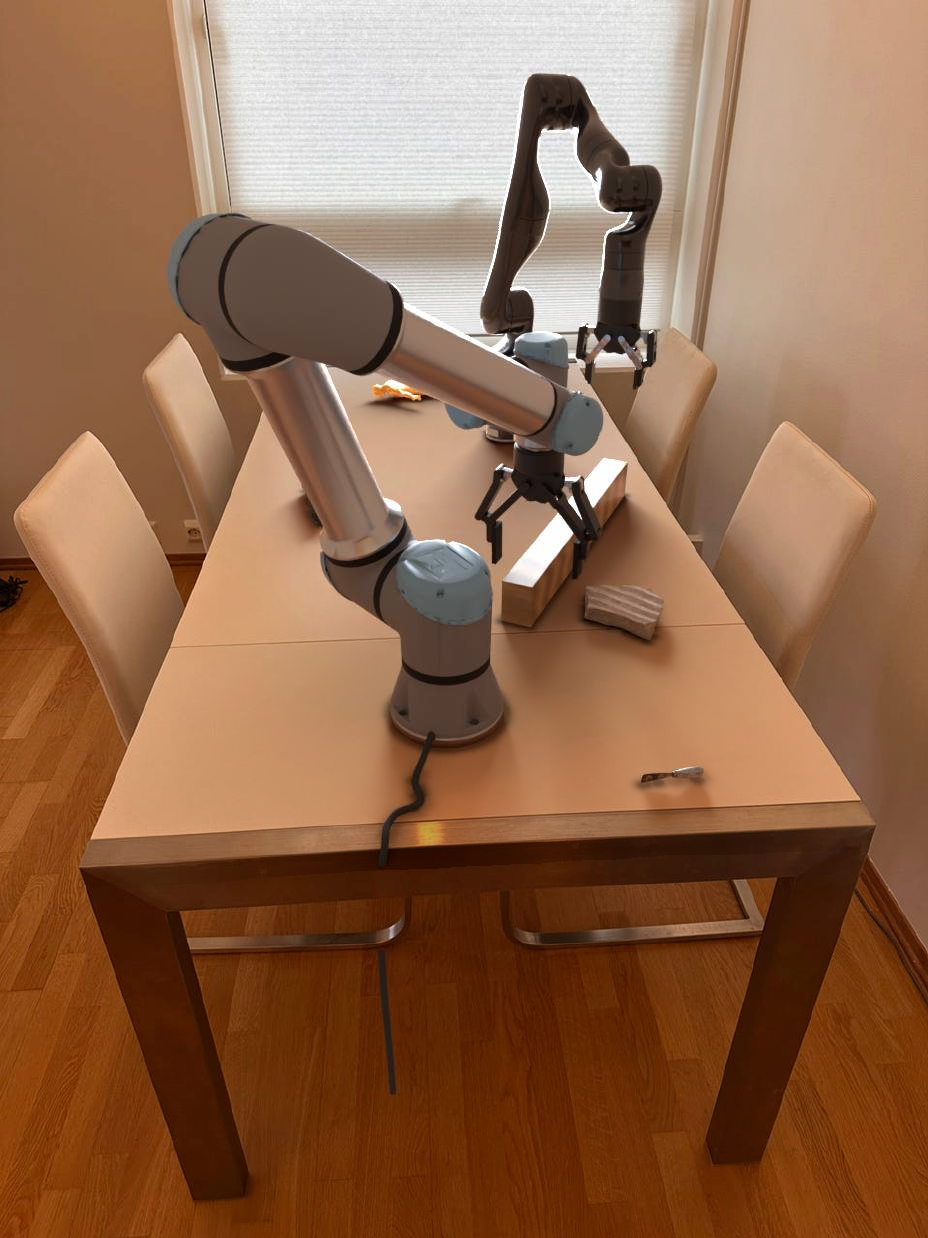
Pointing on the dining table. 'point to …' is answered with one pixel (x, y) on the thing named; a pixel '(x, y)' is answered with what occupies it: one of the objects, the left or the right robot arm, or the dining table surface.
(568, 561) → the post
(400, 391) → the human figure
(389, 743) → the dining table surface
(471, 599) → the left robot arm
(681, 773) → the putty knife
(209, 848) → the dining table surface
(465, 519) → the dining table surface
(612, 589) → the stone
